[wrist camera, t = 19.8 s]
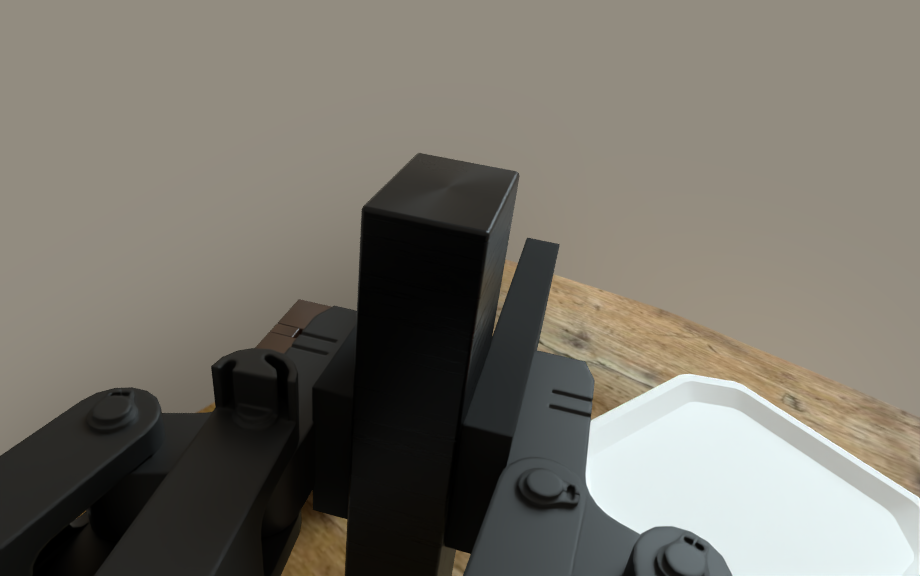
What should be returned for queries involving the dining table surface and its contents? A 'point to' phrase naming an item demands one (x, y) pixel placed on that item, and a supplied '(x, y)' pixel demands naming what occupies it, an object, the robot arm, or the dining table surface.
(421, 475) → the knife
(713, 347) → the dining table surface
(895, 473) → the dining table surface
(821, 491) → the plate
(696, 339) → the dining table surface
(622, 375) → the dining table surface
